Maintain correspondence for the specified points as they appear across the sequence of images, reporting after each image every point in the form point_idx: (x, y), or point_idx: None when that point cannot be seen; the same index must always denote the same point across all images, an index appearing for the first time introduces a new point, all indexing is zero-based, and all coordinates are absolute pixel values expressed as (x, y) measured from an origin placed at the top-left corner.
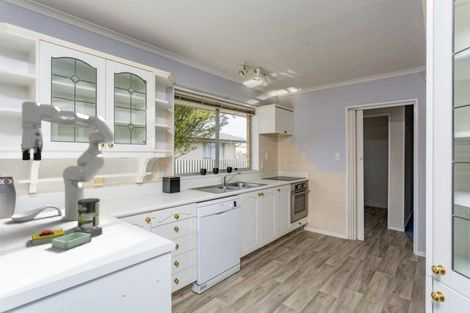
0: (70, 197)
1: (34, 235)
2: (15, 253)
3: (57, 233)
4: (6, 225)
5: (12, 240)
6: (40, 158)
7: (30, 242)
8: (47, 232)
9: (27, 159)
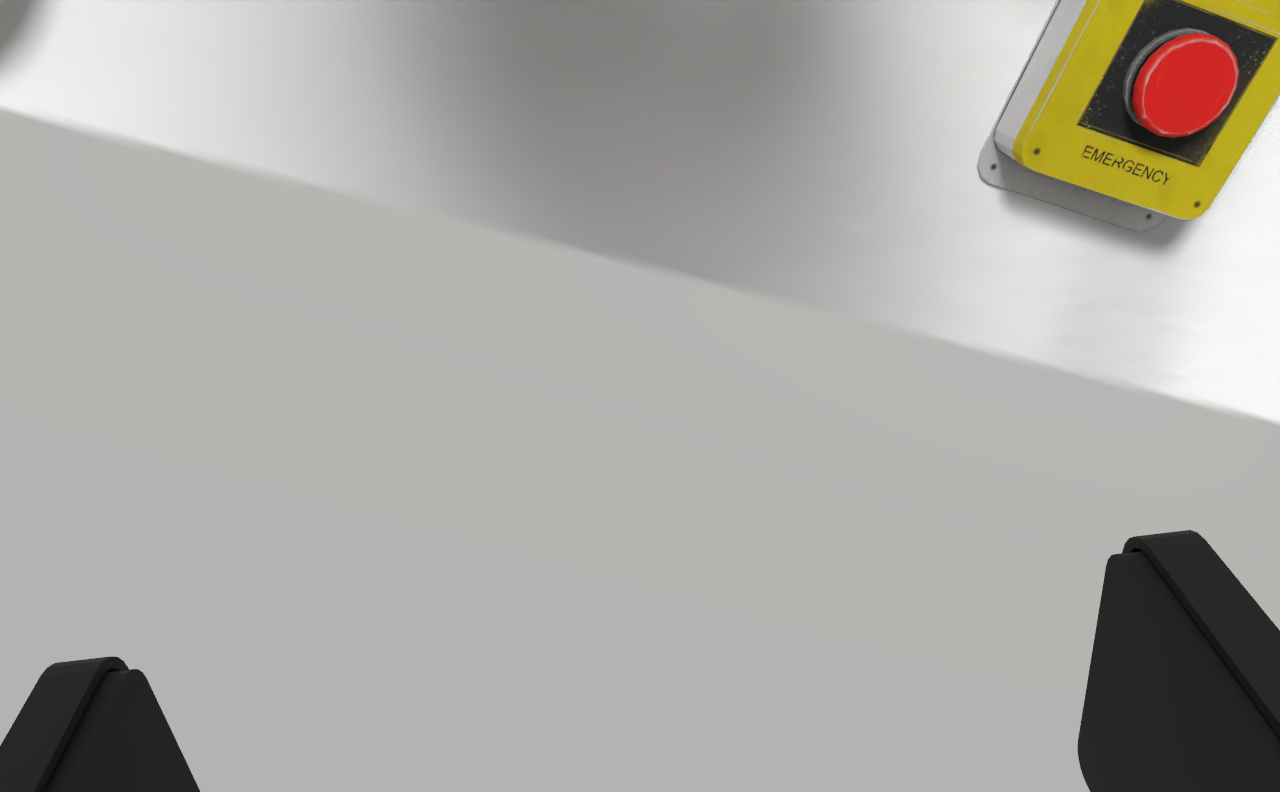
0: None
1: (1094, 174)
2: (1216, 343)
3: (1277, 2)
4: (39, 98)
5: (826, 254)
6: (1243, 621)
7: (1072, 190)
8: (1230, 98)
9: (162, 769)
